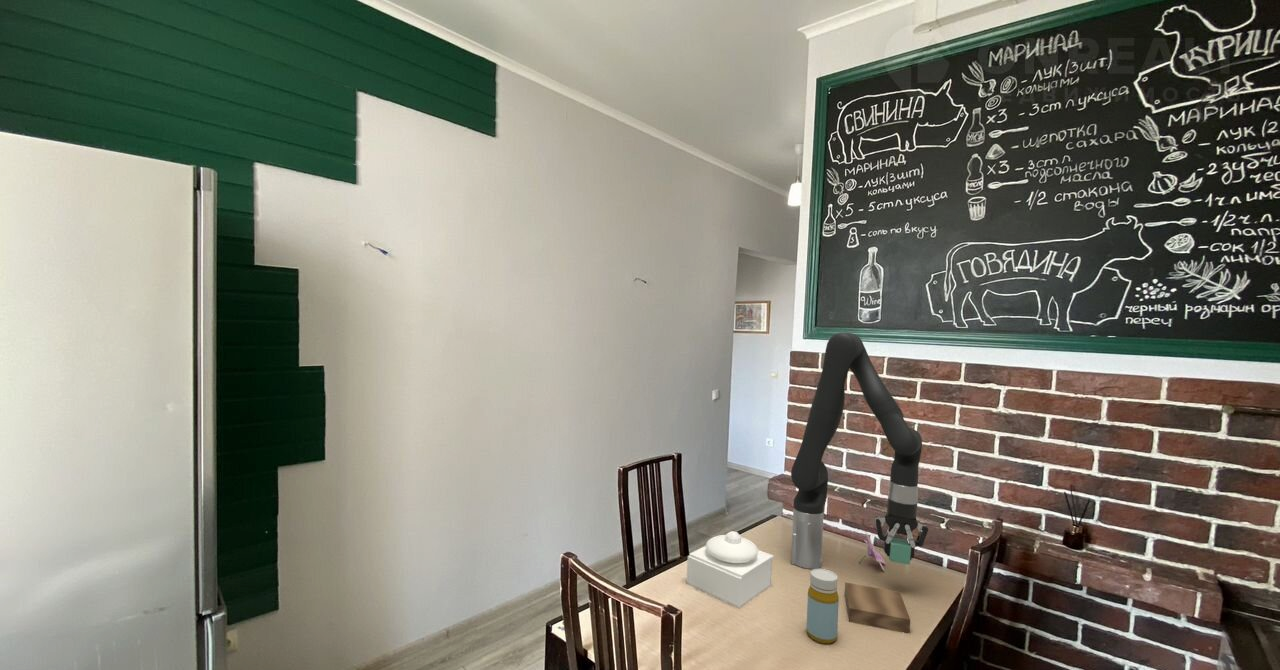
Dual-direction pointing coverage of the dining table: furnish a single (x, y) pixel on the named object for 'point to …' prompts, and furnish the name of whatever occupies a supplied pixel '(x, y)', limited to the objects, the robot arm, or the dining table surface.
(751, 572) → the butter dish
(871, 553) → the lily
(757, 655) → the dining table surface
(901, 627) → the walnut base
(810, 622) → the bottle
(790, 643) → the dining table surface
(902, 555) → the green cube
